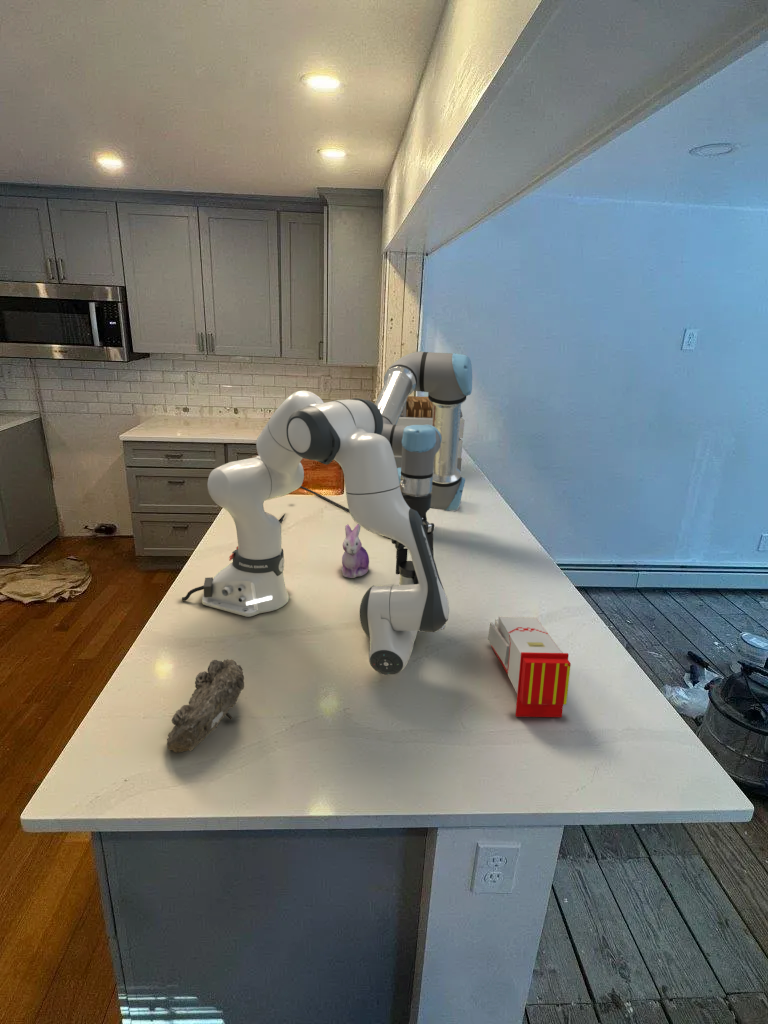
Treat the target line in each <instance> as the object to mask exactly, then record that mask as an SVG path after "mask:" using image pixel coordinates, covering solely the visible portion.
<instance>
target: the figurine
mask: <svg viewBox="0 0 768 1024" xmlns="http://www.w3.org/2000/svg"><path fill="white" fill-rule="evenodd" d="M344 527H345V528H344V531H345V532H344V533H345V537H344V540H343V542H342V550H343V551H344V552H343V554H342V556H341V565H342V567H341V573H342V576H343V577H344V578H349V579H350V578H351V579H354V578H357V577H362V576H364V575H366V574H367V573H368V571H369V566H370V557H369V554H368V551H367V550H366V549H365V547H364V546H363V545H362V544H363V543H362V541H361V539H360V536H359V535H360V532H361V526H360V525H359V524H357V523H356V525H355V526H354V528H353V529H352V528H351V526H350V525H349V524H347V523H346V524H345V526H344Z"/></svg>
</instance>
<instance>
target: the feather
mask: <svg viewBox="0 0 768 1024" xmlns="http://www.w3.org/2000/svg"><path fill="white" fill-rule="evenodd" d="M285 515H286V513H283V515H281V517H280V518H279V519H278V520H279V522H280V523H281V522H282V520H283V519H284V517H285Z"/></svg>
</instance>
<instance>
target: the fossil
mask: <svg viewBox="0 0 768 1024" xmlns="http://www.w3.org/2000/svg"><path fill="white" fill-rule="evenodd" d="M243 670H244V669H243V667H242V665H240V664H237V662H236V661H235V660H234V659H232V658H231V659H227V658H226V659H224V660H223V661H222V660H217V659H212V660H211V661H210V663H209V665H208V666H207V671H201V672H199V673H198V674H197V675H196V676H195V680H194V684H195V685H194V687H195V689H194V690H193V693H192V694H191V697H190V698H189V700H188V704H184V705H182V706H181V707H180V709H177V710H176V711H175V713H174V715H173V716H172V718H171V723H172V724H173V727H172V730H171V731H170V732H168V734H167V738H166V741H167V742H166V745H167V749H168V750H169V751H173V752H174V753H176V754H178V753H182V752H188V751H189V752H192V751H193V750H195V748H196V747H197V746H199V744H200V743H201V742H203V741H204V740H205V739H206V738H207V737H208V736H209V735H210V734H211V733H212V732H214V730H215V729H217V727H218V726H219V724H220V722H221V721H222V720H223V719H224V718H225V716H226V717H227V719H229V720H233V717H232V715H230V714H229V710H230V709H231V708H234V706H235V704H236V703H237V702H238V699H239V697H240V695H241V693H242V691H243V690H245V689H244V688H245V675H244V671H243Z"/></svg>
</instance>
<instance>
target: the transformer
mask: <svg viewBox="0 0 768 1024" xmlns="http://www.w3.org/2000/svg"><path fill="white" fill-rule="evenodd" d="M432 418H433V403H432V402H431V401H430V400H429V399H428V396H415V395H414V396H413V395H412V396H411V395H409V396H408V398H407V400H406V402H405V405H404V407H403V410H402V412H401V414H400V417H399V419H398V422H397V424H396V425H402V426H411V425H432ZM464 429H465V419H464V418H463V411H462V409H461V410H460V426H459V442H458V458H457V469H459V470H460V472H462V461H463V460H462V453H463V442H464V441H463V440H462V439H463V438H464V431H465V430H464ZM394 458H395V462H396V466H397V468H401V460H402V456H395V455H394Z"/></svg>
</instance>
